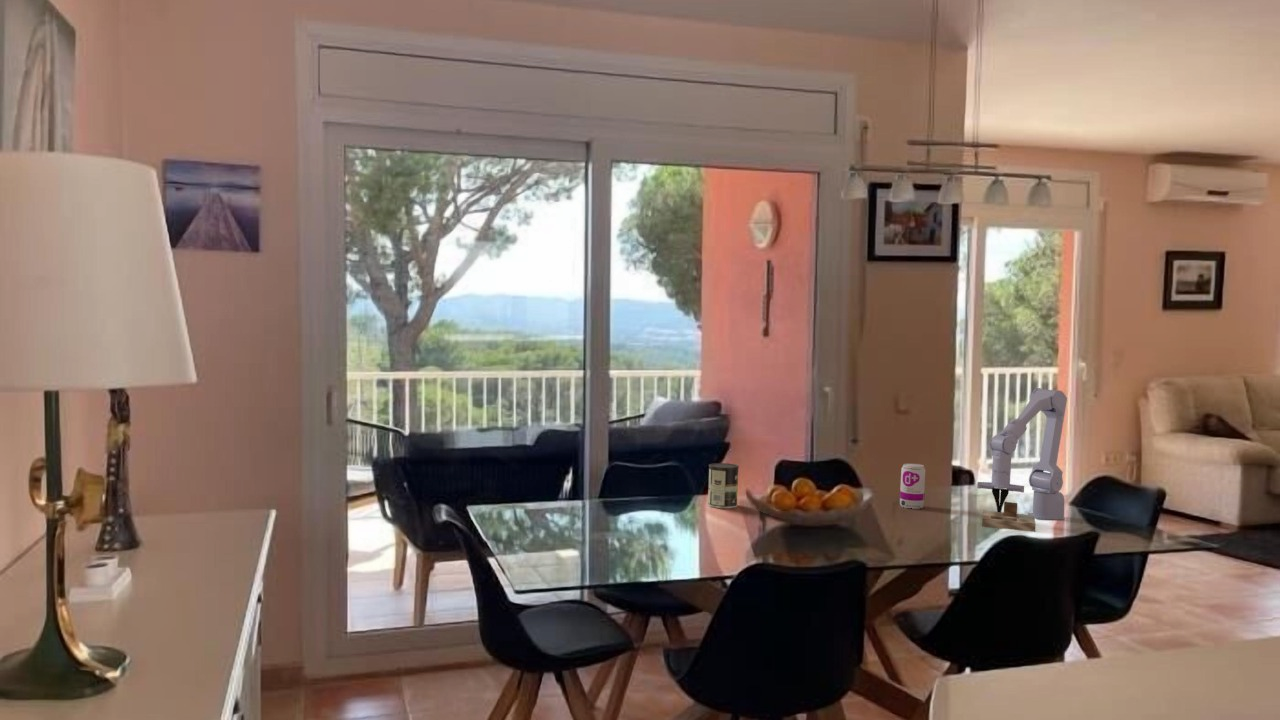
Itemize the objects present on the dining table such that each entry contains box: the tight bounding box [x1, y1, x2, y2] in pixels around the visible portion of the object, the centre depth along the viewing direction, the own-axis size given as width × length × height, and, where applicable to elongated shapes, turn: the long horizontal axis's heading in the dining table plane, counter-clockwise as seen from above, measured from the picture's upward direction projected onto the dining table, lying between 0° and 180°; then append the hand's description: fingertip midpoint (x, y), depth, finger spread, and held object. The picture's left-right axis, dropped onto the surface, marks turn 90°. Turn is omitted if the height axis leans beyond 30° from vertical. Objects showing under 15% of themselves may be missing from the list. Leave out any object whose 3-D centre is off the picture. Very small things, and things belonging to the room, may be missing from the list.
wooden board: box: [981, 510, 1036, 532], centre depth 314 cm, size 16×14×2 cm
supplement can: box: [899, 463, 927, 510], centre depth 337 cm, size 8×8×15 cm
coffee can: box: [707, 462, 739, 510], centre depth 329 cm, size 10×10×14 cm
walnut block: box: [1003, 501, 1018, 517], centre depth 316 cm, size 4×4×4 cm
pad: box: [1017, 513, 1036, 521], centre depth 315 cm, size 5×8×2 cm, turn 159°
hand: (999, 511), depth 318 cm, fingers closed
